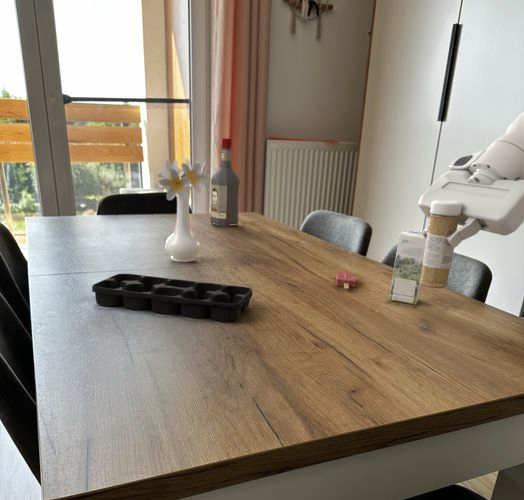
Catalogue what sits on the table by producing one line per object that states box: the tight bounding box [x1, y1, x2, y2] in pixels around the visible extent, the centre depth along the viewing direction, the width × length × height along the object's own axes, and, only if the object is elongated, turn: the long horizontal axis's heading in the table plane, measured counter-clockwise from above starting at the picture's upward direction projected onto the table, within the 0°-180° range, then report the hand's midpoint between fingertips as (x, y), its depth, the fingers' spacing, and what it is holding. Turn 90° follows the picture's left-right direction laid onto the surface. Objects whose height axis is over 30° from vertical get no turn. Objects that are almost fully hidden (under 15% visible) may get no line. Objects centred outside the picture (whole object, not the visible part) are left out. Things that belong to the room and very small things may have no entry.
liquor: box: [209, 137, 241, 228], centre depth 187 cm, size 9×9×30 cm
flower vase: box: [157, 157, 211, 263], centre depth 130 cm, size 13×18×25 cm
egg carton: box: [91, 273, 253, 323], centre depth 98 cm, size 18×30×4 cm, turn 89°
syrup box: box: [388, 229, 426, 305], centre depth 109 cm, size 6×6×14 cm
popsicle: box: [335, 270, 357, 290], centre depth 121 cm, size 4×2×15 cm
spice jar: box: [420, 200, 462, 289], centre depth 82 cm, size 5×5×13 cm
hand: (437, 240), depth 82 cm, fingers closed on spice jar, 4 cm apart
